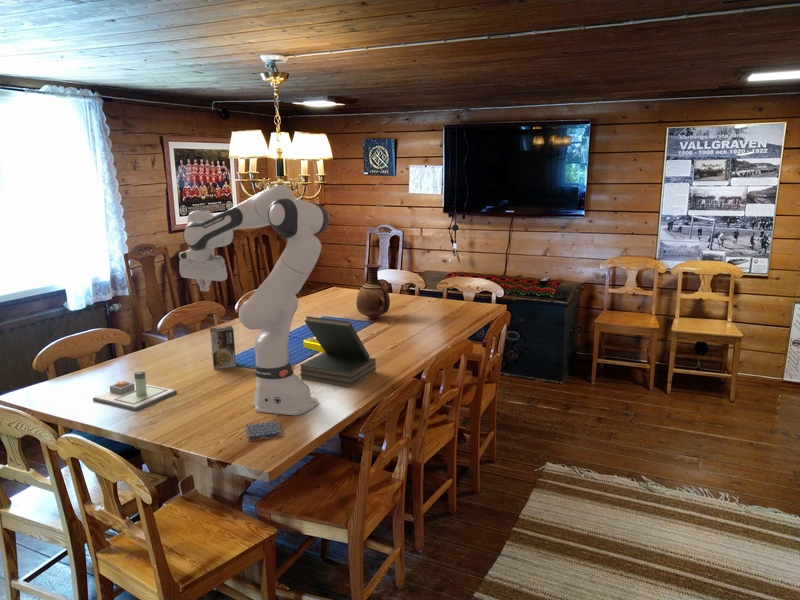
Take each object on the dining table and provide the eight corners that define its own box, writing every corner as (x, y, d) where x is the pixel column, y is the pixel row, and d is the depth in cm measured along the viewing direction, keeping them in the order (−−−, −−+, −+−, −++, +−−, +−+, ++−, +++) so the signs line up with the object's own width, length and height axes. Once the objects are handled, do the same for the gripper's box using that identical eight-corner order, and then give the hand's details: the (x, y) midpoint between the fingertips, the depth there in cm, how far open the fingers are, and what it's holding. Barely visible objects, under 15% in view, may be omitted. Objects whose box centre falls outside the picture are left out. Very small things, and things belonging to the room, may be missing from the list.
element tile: (325, 355, 254) (325, 344, 253) (301, 349, 263) (301, 339, 262) (347, 347, 266) (347, 337, 265) (324, 341, 275) (323, 332, 274)
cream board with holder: (176, 392, 209) (176, 383, 208) (135, 410, 193) (134, 401, 192) (135, 384, 218) (134, 375, 217) (93, 400, 202) (92, 391, 201)
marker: (149, 393, 205) (147, 372, 203) (140, 397, 202) (138, 375, 200) (142, 392, 206) (140, 370, 205) (134, 395, 203) (132, 373, 202)
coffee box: (234, 362, 243) (232, 325, 240) (236, 366, 237) (234, 329, 234) (212, 364, 240) (209, 327, 237) (213, 369, 234) (210, 331, 231)
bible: (376, 373, 231) (375, 312, 226) (351, 389, 214) (349, 324, 208) (327, 365, 241) (325, 307, 235) (300, 379, 223) (297, 317, 218)
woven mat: (278, 424, 184) (278, 418, 183) (283, 438, 174) (282, 432, 173) (245, 429, 180) (244, 423, 180) (247, 443, 171) (247, 437, 170)
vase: (353, 315, 324) (352, 263, 318) (384, 313, 329) (383, 261, 323) (362, 324, 304) (361, 268, 298) (394, 322, 309) (394, 267, 303)
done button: (129, 387, 209) (129, 381, 208) (121, 390, 206) (121, 385, 205) (123, 386, 210) (122, 380, 209) (115, 389, 207) (114, 383, 206)
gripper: (229, 254, 211) (232, 291, 214) (188, 251, 219) (190, 287, 222) (217, 257, 205) (220, 294, 208) (175, 253, 214) (178, 290, 217)
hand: (204, 291), depth 215 cm, fingers closed
